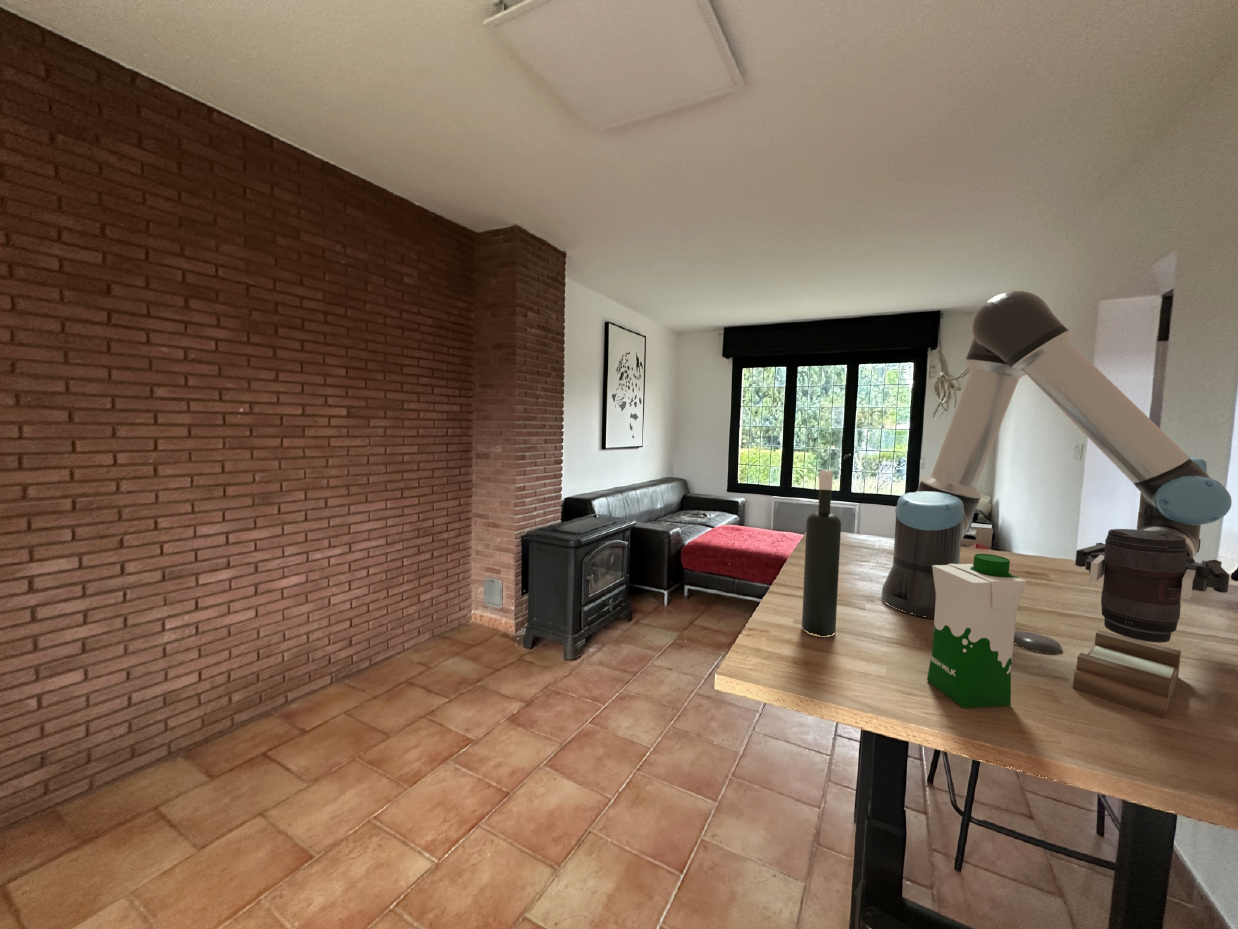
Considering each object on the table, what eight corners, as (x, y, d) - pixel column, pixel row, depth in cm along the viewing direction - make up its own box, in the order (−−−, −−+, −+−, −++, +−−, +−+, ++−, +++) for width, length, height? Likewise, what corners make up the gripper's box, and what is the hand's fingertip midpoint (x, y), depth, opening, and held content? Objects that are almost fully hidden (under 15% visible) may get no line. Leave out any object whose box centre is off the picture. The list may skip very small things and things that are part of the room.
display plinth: (1164, 718, 64) (1168, 686, 63) (1072, 687, 71) (1076, 658, 71) (1178, 677, 74) (1181, 649, 74) (1096, 653, 81) (1099, 628, 81)
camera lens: (1152, 625, 74) (1162, 529, 73) (1193, 648, 66) (1205, 542, 65) (1085, 618, 77) (1094, 525, 75) (1118, 640, 69) (1128, 538, 68)
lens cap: (1015, 650, 83) (1016, 644, 83) (1002, 633, 89) (1003, 628, 89) (1067, 658, 80) (1068, 652, 80) (1050, 640, 87) (1051, 635, 87)
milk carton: (1023, 709, 66) (1036, 567, 64) (960, 712, 65) (972, 568, 63) (971, 675, 74) (981, 548, 72) (915, 677, 74) (924, 549, 72)
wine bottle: (835, 627, 91) (843, 469, 88) (835, 640, 86) (843, 473, 82) (802, 622, 93) (809, 468, 90) (800, 634, 88) (807, 471, 85)
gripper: (1258, 592, 73) (1257, 632, 60) (1072, 559, 90) (1038, 585, 77) (1265, 543, 73) (1265, 573, 59) (1076, 520, 89) (1042, 539, 76)
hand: (1137, 580), depth 68 cm, fingers closed on camera lens, 8 cm apart
